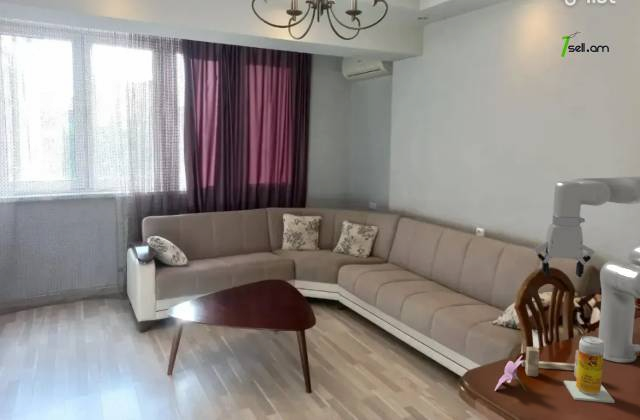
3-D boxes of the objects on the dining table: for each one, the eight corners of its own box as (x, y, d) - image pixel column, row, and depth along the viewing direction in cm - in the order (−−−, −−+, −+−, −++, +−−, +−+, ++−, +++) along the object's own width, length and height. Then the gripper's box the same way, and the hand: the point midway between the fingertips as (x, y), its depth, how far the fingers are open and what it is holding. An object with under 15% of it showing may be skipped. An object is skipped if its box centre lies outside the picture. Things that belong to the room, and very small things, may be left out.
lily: (512, 378, 151) (497, 351, 151) (547, 377, 142) (531, 348, 142) (494, 404, 144) (478, 375, 143) (530, 405, 135) (513, 374, 134)
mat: (600, 385, 145) (600, 383, 145) (614, 402, 135) (614, 400, 135) (563, 382, 147) (563, 380, 147) (574, 399, 137) (574, 397, 137)
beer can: (579, 395, 138) (584, 343, 136) (572, 384, 144) (576, 334, 142) (603, 397, 137) (608, 344, 135) (595, 386, 143) (599, 336, 141)
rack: (579, 368, 155) (581, 344, 154) (588, 380, 148) (590, 354, 147) (521, 364, 158) (523, 340, 157) (527, 375, 151) (528, 350, 150)
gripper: (591, 220, 157) (587, 273, 159) (533, 218, 160) (530, 271, 162) (600, 224, 149) (596, 279, 152) (539, 222, 152) (535, 277, 155)
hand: (562, 275), depth 157 cm, fingers open, 9 cm apart
